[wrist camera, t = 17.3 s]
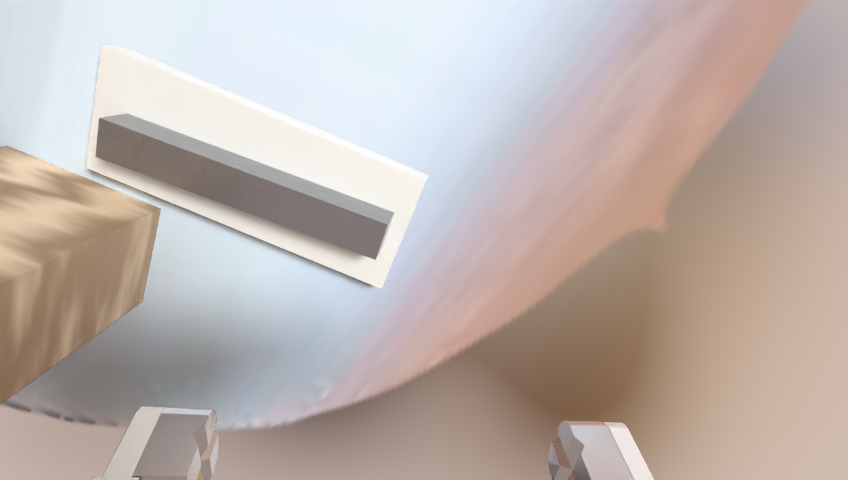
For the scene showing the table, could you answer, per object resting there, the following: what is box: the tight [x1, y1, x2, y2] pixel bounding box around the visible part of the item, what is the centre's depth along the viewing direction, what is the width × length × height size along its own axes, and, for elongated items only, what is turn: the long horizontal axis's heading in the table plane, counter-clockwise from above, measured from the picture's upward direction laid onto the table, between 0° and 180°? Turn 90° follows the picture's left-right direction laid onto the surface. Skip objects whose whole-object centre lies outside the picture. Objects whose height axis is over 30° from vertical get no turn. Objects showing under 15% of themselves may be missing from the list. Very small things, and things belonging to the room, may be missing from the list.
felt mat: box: [86, 45, 429, 289], centre depth 39 cm, size 26×10×2 cm, turn 68°
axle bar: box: [95, 113, 394, 260], centre depth 37 cm, size 22×3×3 cm, turn 70°
